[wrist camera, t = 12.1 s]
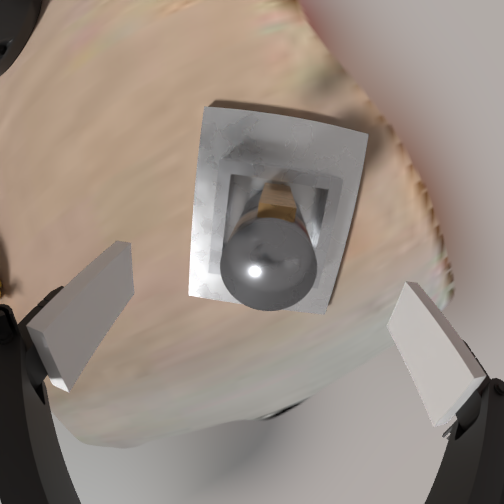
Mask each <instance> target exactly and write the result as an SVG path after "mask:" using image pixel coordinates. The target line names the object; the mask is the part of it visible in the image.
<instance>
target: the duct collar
mask: <svg viewBox="0 0 504 504" xmlns="http://www.w3.org/2000/svg"><path fill="white" fill-rule="evenodd" d="M368 136H369V134H366V133H363V132H359V131H355V130H351V129H347V128H343V127H339V126H335V125H331V124H326V123H322V122H317V121H312V120H307V119H302V118H296V117H290V116H284V115H278V114H272V113H264V112H257V111H249V110H240V109H230V108H218V107H204V113H203V120H202V128H201V136H200V145H199V153H198V163H197V173H196V183H195V194H194V206H193V220H192V235H191V253H190V275H189V295H190V296H196V297H202V298H208V299H214V300H220V301H226V302H233V303H239V304H242V303H241V302H239V301H238V300H237V299H235V298H234V297H233V296H232V295H231V294H230V292H229V291H228V290H227V288H226V287H225V285H224V282H223V280H222V277H221V272H220V260H221V256H222V252H223V250H224V248H225V246H226V244H227V242H228V240H229V238H230V236H231V234H232V232H233V230H234V228H235V226H236V224H237V222H238V220H239V218H240V216H241V214H242V212H243V210H244V208H245V206H246V204H247V203H248V201H249V200H250V199H251V198H252V197H253V196H255V195H256V194H258V193H260V192H262V191H263V188H264V184H265V182H266V183H273V184H280V185H286V186H290V188H291V191H292V194H293V198H294V200H295V201H296V203H297V204H298V206H299V208H300V210H301V213H302V216H303V219H304V222H305V225H306V228H307V231H308V234H309V237H310V240H311V243H312V246H313V249H314V252H315V256H316V259H317V275H316V279H315V282H314V284H313V286H312V288H311V290H310V291H309V293H308V294H307V295H306V296H305V297H304V298H303V299H302V300H301V301H299V302H298V303H296V304H294V305H293V306H291V307H288V308H285V309H282V310H290V311H298V312H307V313H315V314H325V312H326V309H327V306H328V303H329V300H330V297H331V293H332V290H333V287H334V284H335V280H336V277H337V273H338V270H339V266H340V263H341V259H342V255H343V252H344V248H345V244H346V240H347V236H348V233H349V229H350V224H351V220H352V216H353V212H354V208H355V203H356V199H357V194H358V189H359V185H360V180H361V175H362V170H363V164H364V159H365V153H366V148H367V142H368Z"/></svg>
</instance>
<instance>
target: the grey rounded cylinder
mask: <svg viewBox="0 0 504 504" xmlns="http://www.w3.org/2000/svg"><path fill="white" fill-rule="evenodd" d="M220 272H221V277H222V280H223V282H224V285H225V287H226V288H227V290H228V291H229V292H230V294H231V295H232V296H233V297H234V298H235V299H237V300H238V301H239V302H241V303H242V304H244V305H246V306H248V307H250V308H253V309H257V310H262V311H276V310H281V309H285V308H288V307H291V306H293V305H294V304H296V303H298V302H299V301H301V300H302V299H303V298H304V297H305V296H306V295H307V294H308V293H309V291H310V290H311V288H312V286H313V284H314V282H315V279H316V275H317V259H316V256H315V252H314V249H313V246H312V243H311V240H310V237H309V234H308V231H307V228H306V225H305V222H304V219H303V216H302V213H301V210H300V208H299V206H298V204H297V203H296V201H295V200H294V198H293V194H292V191H291V188H290V186H286V185H280V184H273V183H266V182H265V184H264V188H263V191H262V192H260V193H258V194H256V195H255V196H253V197H252V198H251V199H250V200H249V201H248V203H247V204H246V206H245V208H244V210H243V212H242V214H241V216H240V218H239V220H238V222H237V224H236V226H235V228H234V230H233V232H232V234H231V236H230V238H229V240H228V242H227V244H226V246H225V248H224V250H223V252H222V256H221V260H220Z"/></svg>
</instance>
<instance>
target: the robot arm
mask: <svg viewBox="0 0 504 504" xmlns="http://www.w3.org/2000/svg"><path fill="white" fill-rule="evenodd" d="M40 7H41V0H0V76H1V75H2V74H3V73H4V72H5V71H6V70H7V69H8V68H9V67H10V65H11V64H12V63H13V62H14V60H15V59H16V58H17V56H18V55H19V53H20V51H21V50H22V48H23V47H24V45H25V43H26V41H27V40H28V38H29V36H30V34H31V32H32V30H33V27H34V25H35V23H36V20H37V18H38V15H39V11H40ZM133 295H134V285H133V272H132V256H131V243H128V242H122V241H116V242H115V243H113V244H112V245H111V246H110V247H109V248H108V249H106V250H105V251H104V252H103V253H102V254H100V255H99V256H98V257H97V258H96V259H95V260H94V261H92V262H91V263H90V264H89V265H88V266H87V267H86V268H85V269H83V270H82V271H81V272H80V273H79V274H78V275H77V276H76V277H75V278H74V279H72V280H71V281H70V282H69V283H68V284H67V285H66V286H65V287H63V286H61V287H59V288H57V289H55V290H53V291H51V292H50V293H49V294H48V295H47V296H46V297H45V298H44V300H42V301H41V302H40V303H39V304H38V305H37V306H36V307H35V308H33V309H32V310H31V311H30V312H29V313H28V315H27V316H26V317H25V318H24V319H23V320H22V321H21V322H20V323H19V324H18V325H17V322H16V319H15V317H14V314H13V311H12V309H11V308H10V307H9V306H8V305H5V304H0V500H1V503H2V504H81V502H80V500H79V498H78V496H77V493H76V491H75V488H74V486H73V484H72V481H71V478H70V476H69V473H68V471H67V467H66V465H65V461H64V459H63V455H62V452H61V449H60V446H59V443H58V439H57V435H56V431H55V427H54V423H53V419H52V415H51V410H50V406H49V401H48V395H47V390H46V386H45V383H44V381H43V380H44V379H45V377H46V376H47V374H48V376H49V378H50V380H51V382H52V384H53V385H54V386H56V387H59V388H61V389H63V390H65V391H67V392H70V390H71V389H72V387H73V385H74V384H75V382H76V380H77V379H78V377H79V375H80V374H81V372H82V371H83V369H84V367H85V366H86V364H87V363H88V361H89V359H90V358H91V356H92V355H93V353H94V352H95V350H96V349H97V347H98V346H99V344H100V342H101V341H102V339H103V338H104V336H105V335H106V333H107V332H108V331H109V329H110V328H111V326H112V325H113V323H114V322H115V320H116V319H117V317H118V316H119V315H120V313H121V312H122V310H123V309H124V307H125V306H126V305H127V303H128V302H129V300H130V299H131V298H132V296H133ZM387 328H388V330H389V332H390V334H391V336H392V338H393V340H394V342H395V344H396V346H397V348H398V350H399V352H400V354H401V355H402V358H403V360H404V362H405V364H406V366H407V368H408V370H409V372H410V375H411V377H412V379H413V381H414V383H415V385H416V388H417V389H418V392H419V394H420V397H421V399H422V401H423V403H424V406H425V408H426V410H427V413H428V415H429V418H430V420H431V423H432V425H433V427H434V426H439V425H443V424H446V423H447V422H448V421H449V420H450V419H451V418H452V417H453V416H454V415H455V414H456V416H457V420H456V421H455V423H454V424H453V425H452V426H451V427H450V428H449V429H448V430H447V431H446V432H445V433H444V434H443V436H442V437H445V436H446V435H447V434H448V433H449V432H450V433H451V434H450V436H449V437H448V438H447V439H448V440H449V441H448V444H447V447H446V451H445V453H444V457H443V459H442V462H441V465H440V468H439V471H438V473H437V476H436V478H435V481H434V483H433V486H432V488H431V491H430V493H429V495H428V497H427V500H426V502H425V504H504V382H503V381H502V380H500V379H497V378H494V379H492V380H491V379H490V378H489V376H488V375H487V373H486V371H485V370H484V368H483V367H482V365H481V364H480V363H479V361H478V359H477V358H475V355H474V354H473V352H471V349H470V348H469V346H468V345H467V344H466V342H465V341H464V340H462V339H461V338H460V336H459V335H458V334H457V332H456V331H455V329H454V328H453V327H452V325H451V324H450V323H449V321H448V320H447V319H446V317H445V316H444V315H443V314H442V312H441V311H440V310H439V309H438V307H437V306H436V305H435V304H434V302H433V301H432V300H431V299H430V297H429V296H428V295H427V294H426V293H425V291H424V290H423V289H422V288H421V287H420V285H419V284H418V283H415V282H407V281H406V282H405V284H404V287H403V289H402V292H401V294H400V297H399V299H398V301H397V304H396V306H395V308H394V311H393V313H392V315H391V317H390V319H389V322H388V324H387Z"/></svg>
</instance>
